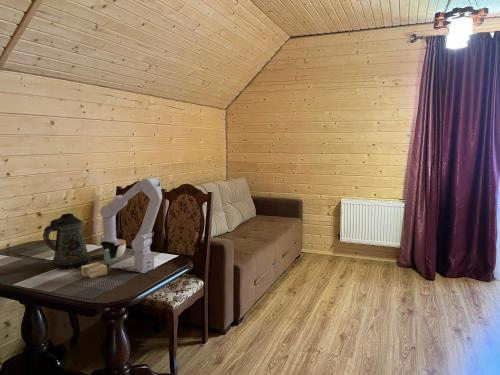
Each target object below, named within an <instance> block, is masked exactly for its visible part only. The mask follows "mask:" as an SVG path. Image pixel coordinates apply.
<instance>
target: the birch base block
mask: <svg viewBox="0 0 500 375" xmlns="http://www.w3.org/2000/svg"><path fill="white" fill-rule="evenodd" d="M80 268H81V275H82V276H85V277H86V278H90V279H93V278H97V277H100V276H104V275H107V274H108V266H107V265H106V264H103V263H100V262H98V261H97V262H93V263H90V264H89V263H88V264H87V265H85V266H81V267H80Z"/></svg>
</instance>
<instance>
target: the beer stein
mask: <svg viewBox="0 0 500 375" xmlns="http://www.w3.org/2000/svg"><path fill="white" fill-rule="evenodd" d="M49 224H50V225H49V226H47V227H45V228H44V230H43V233H42V234H43V235H42V239H43V241H44V243H45V245H46V246H47V247H48V248H49V249H51V250H52V251H53V252H54V256H53V257H52V263H53V266H54V268H55V269H58V270H76V269H79V268H81V266H85V265H89V263H90V253H89V250H88V248H87V245H86V242H85V236H84V233H83V226H84V222H83V221H82V220H81V219H80V218H78V217H76V216H75V215H74V214H73V213H70V212H69V213H64V214H61V216H60V217H58V218H55V219H52V220H51V221H50V222H49ZM52 232H56V238H55V244H54V243H53V242H52V241H51V240H50V234H51V233H52Z"/></svg>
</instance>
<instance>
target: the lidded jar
mask: <svg viewBox="0 0 500 375" xmlns="http://www.w3.org/2000/svg"><path fill="white" fill-rule="evenodd" d="M117 239H118V241H119V244H120V246H119V247H118V249H117V259H118V258H120V257H122V256H123V254H124V253H126V248H127V247H126V246H127V240H125V239H121V238H117Z"/></svg>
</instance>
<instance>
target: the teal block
mask: <svg viewBox="0 0 500 375" xmlns="http://www.w3.org/2000/svg"><path fill="white" fill-rule="evenodd" d="M103 261H105V262H114V261H118V258H117V253H116V257H115V258H112V259H111V257H110V251H109V249H105V250H104V249H103Z"/></svg>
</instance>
